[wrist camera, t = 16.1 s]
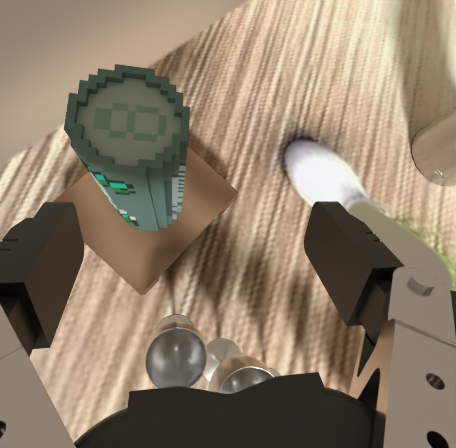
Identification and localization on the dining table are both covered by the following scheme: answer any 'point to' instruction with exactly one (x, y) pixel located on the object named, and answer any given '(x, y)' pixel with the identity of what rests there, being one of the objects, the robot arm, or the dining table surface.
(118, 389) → the dining table surface
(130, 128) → the can
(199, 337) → the goblet set
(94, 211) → the walnut shelf
